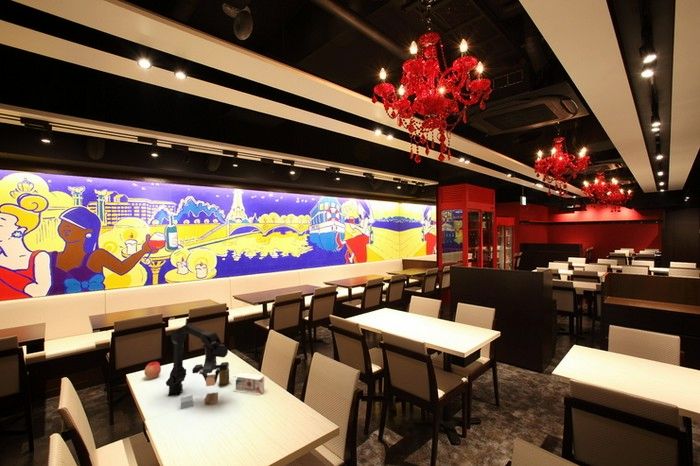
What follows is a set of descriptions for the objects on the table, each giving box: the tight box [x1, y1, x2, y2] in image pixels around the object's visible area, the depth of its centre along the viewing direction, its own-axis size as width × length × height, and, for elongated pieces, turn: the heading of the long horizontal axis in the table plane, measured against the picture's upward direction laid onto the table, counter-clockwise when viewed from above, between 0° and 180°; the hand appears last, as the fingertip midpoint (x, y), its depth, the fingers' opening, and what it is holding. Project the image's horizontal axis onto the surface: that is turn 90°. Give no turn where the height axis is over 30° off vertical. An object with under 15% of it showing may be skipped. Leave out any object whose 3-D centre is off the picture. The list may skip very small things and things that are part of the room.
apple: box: [143, 361, 162, 380], centre depth 212 cm, size 10×10×10 cm
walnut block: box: [204, 392, 219, 406], centre depth 179 cm, size 6×6×4 cm
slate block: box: [180, 394, 194, 410], centre depth 176 cm, size 6×6×4 cm
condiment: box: [216, 366, 233, 388], centre depth 201 cm, size 7×8×12 cm
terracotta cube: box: [205, 373, 218, 387], centre depth 179 cm, size 4×4×4 cm
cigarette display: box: [232, 372, 265, 396], centre depth 191 cm, size 20×6×9 cm, turn 74°
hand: (211, 382), depth 179 cm, fingers closed on terracotta cube, 4 cm apart
